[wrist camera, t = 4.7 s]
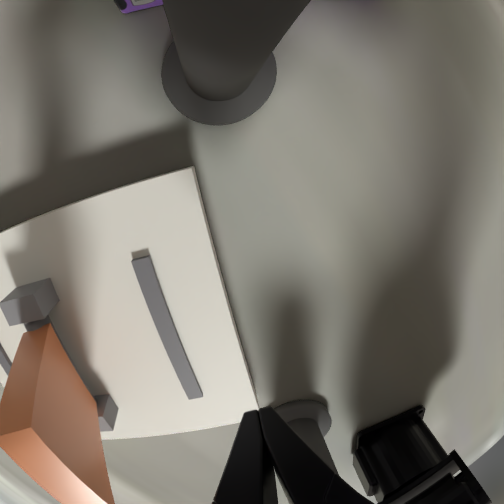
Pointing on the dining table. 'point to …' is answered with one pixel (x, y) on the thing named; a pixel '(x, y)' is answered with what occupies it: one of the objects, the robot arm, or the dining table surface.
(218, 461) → the dining table surface
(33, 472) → the block
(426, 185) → the dining table surface
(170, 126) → the dining table surface
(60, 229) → the panel
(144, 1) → the candy box
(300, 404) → the far post
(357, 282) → the dining table surface
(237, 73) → the near post
